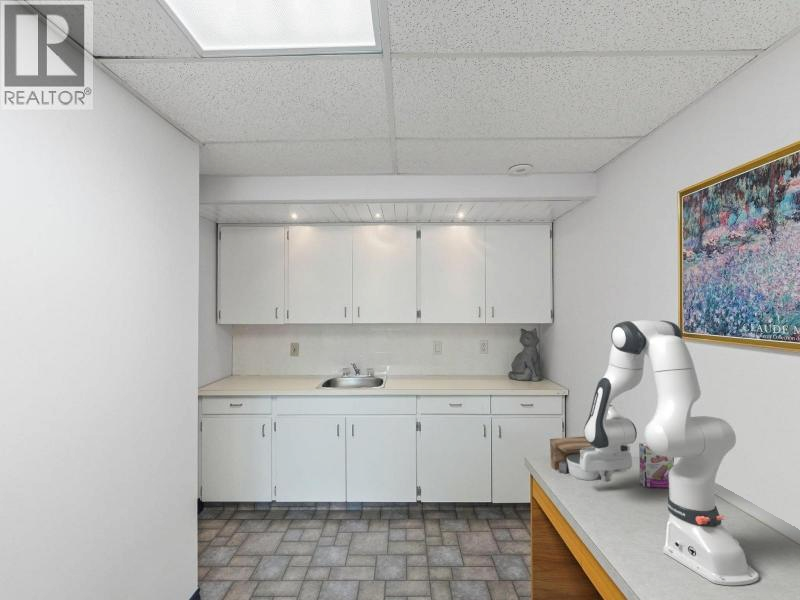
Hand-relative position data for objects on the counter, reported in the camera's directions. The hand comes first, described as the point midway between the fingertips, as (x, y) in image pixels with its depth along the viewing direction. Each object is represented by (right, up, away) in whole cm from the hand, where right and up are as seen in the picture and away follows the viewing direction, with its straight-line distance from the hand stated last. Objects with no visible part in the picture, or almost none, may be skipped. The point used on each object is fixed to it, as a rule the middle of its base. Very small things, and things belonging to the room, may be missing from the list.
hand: (606, 481), depth 160 cm
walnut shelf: (-2, -4, +19) cm, 20 cm away
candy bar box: (+22, -3, +3) cm, 22 cm away
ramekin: (-2, -4, +15) cm, 16 cm away
